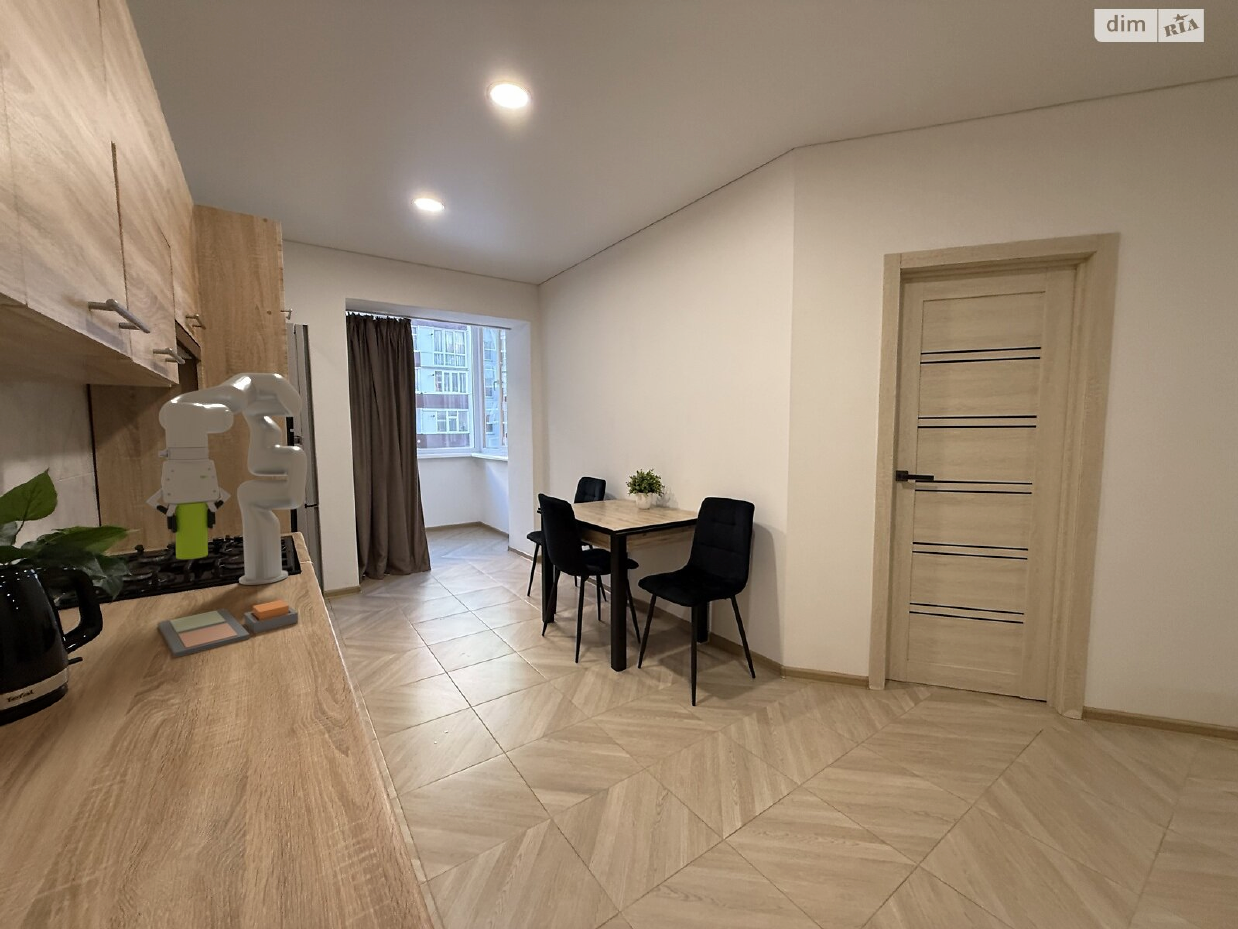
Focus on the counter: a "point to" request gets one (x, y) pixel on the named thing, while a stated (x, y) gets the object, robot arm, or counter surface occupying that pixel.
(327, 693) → the counter surface
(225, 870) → the counter surface
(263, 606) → the button
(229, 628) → the gray board
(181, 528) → the soap dispenser
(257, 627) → the button housing
